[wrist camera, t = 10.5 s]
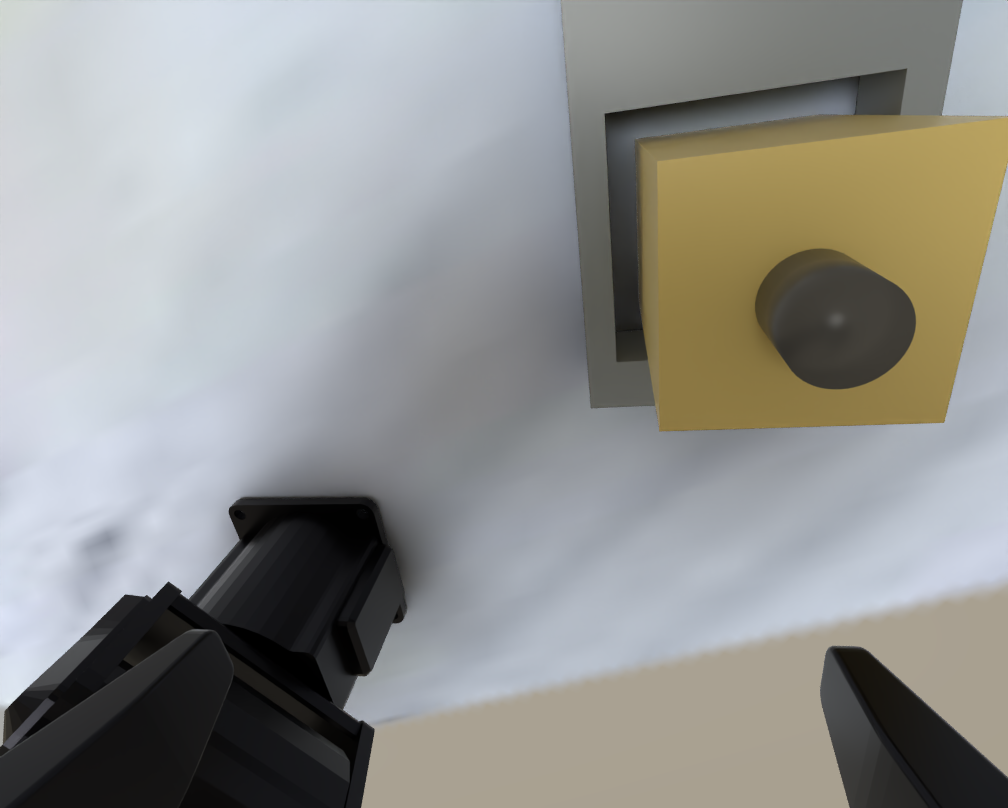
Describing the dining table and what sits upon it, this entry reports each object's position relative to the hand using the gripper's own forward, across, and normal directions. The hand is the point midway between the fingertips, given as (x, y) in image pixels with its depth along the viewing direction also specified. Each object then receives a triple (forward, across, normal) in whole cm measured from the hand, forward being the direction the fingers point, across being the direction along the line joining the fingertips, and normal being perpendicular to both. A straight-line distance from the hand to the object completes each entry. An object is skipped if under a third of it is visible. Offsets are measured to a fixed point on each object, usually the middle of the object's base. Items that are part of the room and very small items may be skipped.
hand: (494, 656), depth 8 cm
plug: (+12, -5, -4) cm, 13 cm away
